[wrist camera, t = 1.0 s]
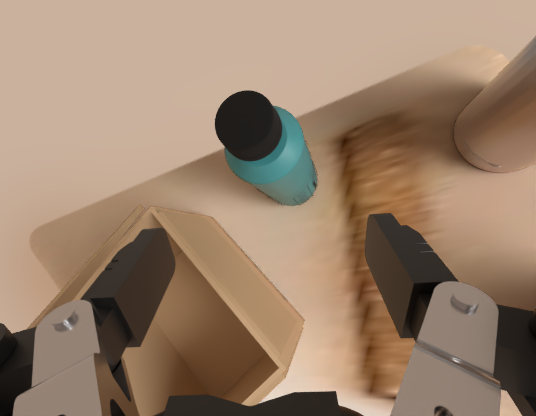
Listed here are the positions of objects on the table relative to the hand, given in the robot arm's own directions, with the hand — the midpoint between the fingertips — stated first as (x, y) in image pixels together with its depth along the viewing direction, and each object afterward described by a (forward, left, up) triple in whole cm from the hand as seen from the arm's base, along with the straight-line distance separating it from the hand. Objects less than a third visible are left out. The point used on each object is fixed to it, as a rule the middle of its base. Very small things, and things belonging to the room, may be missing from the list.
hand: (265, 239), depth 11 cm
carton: (+16, -3, -24) cm, 29 cm away
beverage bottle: (-3, -7, -24) cm, 25 cm away
